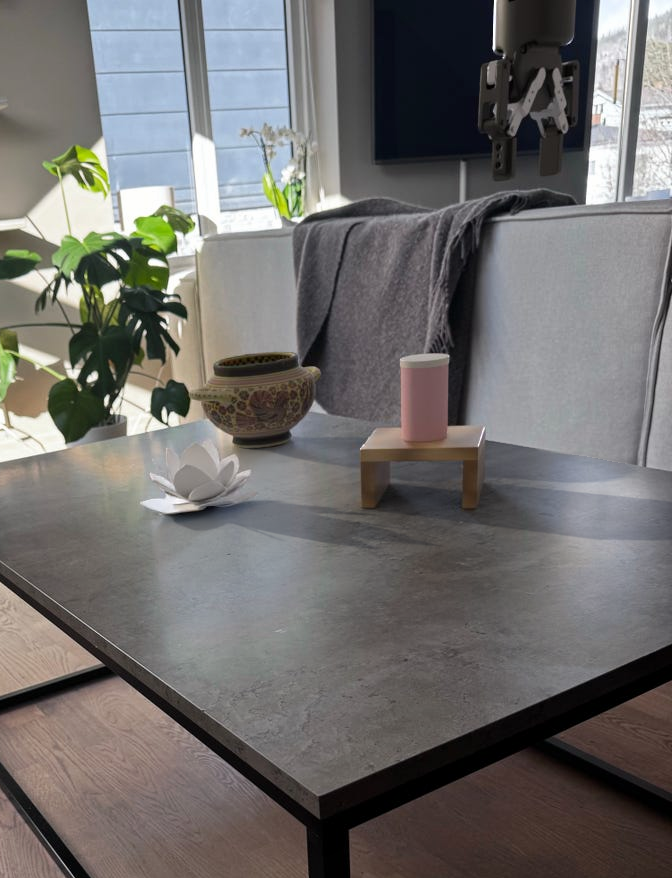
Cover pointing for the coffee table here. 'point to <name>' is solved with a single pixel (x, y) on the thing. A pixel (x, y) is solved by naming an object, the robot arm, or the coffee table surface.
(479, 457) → the shelf stand
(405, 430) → the tube
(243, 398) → the ceramic bowl
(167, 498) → the lotus flower
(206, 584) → the coffee table surface
